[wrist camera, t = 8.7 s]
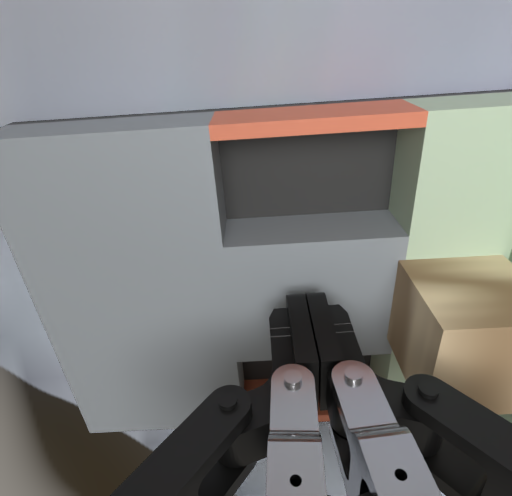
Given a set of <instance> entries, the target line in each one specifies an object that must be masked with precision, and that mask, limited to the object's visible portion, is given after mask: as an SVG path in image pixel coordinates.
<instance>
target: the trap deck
mask: <svg viewBox="0 0 512 496" xmlns="http://www.w3.org/2000/svg"><path fill="white" fill-rule="evenodd" d="M0 228H1V230H2V232H3V234H4V237H5V239H6V241H7V244H8V246H9V248H10V250H11V253H12V255H13V257H14V260H15V262H16V264H17V267H18V269H19V271H20V273H21V276H22V278H23V280H24V283H25V285H26V287H27V290H28V292H29V294H30V296H31V299H32V301H33V303H34V306H35V308H36V310H37V313H38V315H39V317H40V319H41V322H42V324H43V326H44V329H45V331H46V333H47V335H48V338H49V340H50V342H51V345H52V347H53V349H54V352H55V354H56V356H57V358H58V361H59V363H60V365H61V368H62V370H63V372H64V375H65V377H66V379H67V381H68V384H69V386H70V388H71V391H72V393H73V395H74V397H75V400H76V402H77V404H78V407H79V409H80V411H81V414H82V416H83V418H84V420H85V423H86V425H87V427H88V430H89V432H90V433H99V432H121V431H141V430H161V429H176V428H177V427H178V426H179V425H180V424H181V423H182V422H183V421H184V420H185V419H186V418H187V417H188V416H189V415H190V414H191V413H192V412H193V411H194V410H195V409H196V408H197V407H198V406H199V405H200V404H201V403H202V402H203V401H204V400H205V399H206V398H207V397H208V396H209V395H210V394H211V393H212V392H213V391H214V390H216V389H217V388H219V387H222V386H225V385H237V386H240V387H242V388H244V389H245V390H246V391H250V390H252V389H255V388H257V387H260V386H261V385H263V384H264V383H265V382H266V381H267V380H268V379H269V378H270V376H271V374H272V354H271V340H270V325H269V317H270V315H271V313H272V311H273V309H277V308H286V295H290V294H306V293H319V292H324V293H325V295H326V298H327V302H328V305H336V304H339V305H340V306H342V307H343V308H344V309H345V310H346V311H347V312H348V315H349V318H350V321H351V324H352V326H353V329H354V333H355V335H356V338H357V341H358V344H359V346H360V349H361V352H362V355H363V358H364V361H365V363H366V365H367V366H369V367H370V368H371V369H372V370H373V372H374V373H375V374H376V375H378V376H380V377H382V378H385V379H388V380H393V381H398V382H403V383H405V381H406V380H405V378H404V376H403V373H402V371H401V369H400V366H399V364H398V362H397V360H396V357H395V355H394V353H393V351H392V348H391V346H390V344H389V342H388V339H387V334H388V327H389V321H390V314H391V307H392V301H393V294H394V287H395V281H396V274H397V267H398V261H399V260H413V259H432V258H451V257H470V256H489V255H504V256H505V257H506V258H507V259H508V260H509V261H510V262H511V263H512V89H509V90H494V91H479V92H464V93H449V94H434V95H419V96H404V97H389V98H374V99H359V100H344V101H329V102H314V103H299V104H284V105H269V106H254V107H238V108H223V109H208V110H193V111H178V112H163V113H148V114H133V115H118V116H103V117H88V118H73V119H58V120H43V121H28V122H13V123H10V124H8V125H5V126H3V127H0ZM317 412H318V422H324V421H330V419H329V414H328V410H323V411H320V407H319V401H318V411H317ZM499 416H501V417H503V418H504V419H506V420H507V421H509V422H511V423H512V414H501V415H499Z"/></svg>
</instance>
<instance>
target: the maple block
mask: <svg viewBox="0 0 512 496" xmlns="http://www.w3.org/2000/svg"><path fill="white" fill-rule="evenodd" d="M387 339H388V342H389V344H390V346H391V348H392V351H393V353H394V355H395V357H396V360H397V362H398V364H399V366H400V369H401V371H402V373H403V376H404V378H405V380H406V379H407V378H409V377H410V376H412V375H415V374H427V375H431V376H434V377H437V378H438V379H440V380H442V381H444V382H445V383H447V384H448V385H450V386H452V387H453V388H455V389H457V390H458V391H460V392H462V393H463V394H465V395H467V396H468V397H470V398H471V399H473V400H475V401H476V402H478V403H480V404H481V405H483V406H485V407H486V408H488V409H489V410H491V411H493V412H494V413H496V414H498V415H501V414H512V263H511V262H510V261H509V260H508V259H507V258H506V257H505V256H504V255H489V256H470V257H451V258H432V259H413V260H399V261H398V267H397V274H396V281H395V287H394V294H393V301H392V307H391V314H390V321H389V327H388V334H387Z"/></svg>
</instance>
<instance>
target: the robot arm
mask: <svg viewBox="0 0 512 496" xmlns="http://www.w3.org/2000/svg"><path fill="white" fill-rule="evenodd" d="M269 325H270V340H271V354H272V374H271V376H270V378H269V379H268V380H267V381H266V382H265V383H264V384H263V385H261V386H260V387H257V388H255V389H252V390H250V391H246V390H245V389H244V388H242V387H240V386H237V385H225V386H222V387H219V388H217V389H216V390H214V391H213V392H212V393H211V394H210V395H209V396H208V397H207V398H206V399H205V400H204V401H203V402H202V403H201V404H200V405H199V406H198V407H197V408H196V409H195V410H194V411H193V412H192V413H191V414H190V415H189V416H188V417H187V418H186V419H185V420H184V421H183V422H182V423H181V424H180V425H179V426H178V427H177V428H176V429H175V430H174V431H173V432H172V433H171V434H170V435H169V436H168V437H167V438H166V439H165V440H164V441H163V442H162V443H161V444H160V445H159V446H158V447H157V448H156V449H155V450H154V451H153V453H152V454H151V455H150V456H149V457H148V458H147V459H146V460H145V461H144V462H143V463H142V464H141V465H140V466H139V467H138V468H137V469H136V470H135V471H134V472H133V473H132V474H131V475H130V476H129V477H128V478H127V479H126V480H125V481H124V482H123V483H122V484H121V485H120V486H119V487H118V488H117V489H116V490H115V491H114V492H113V493H112V494H111V495H110V496H233V495H234V494H235V492H236V491H237V489H238V488H239V487H240V485H241V484H242V483H243V481H244V480H245V479H246V477H247V476H248V475H249V473H250V472H251V471H252V469H253V468H254V466H255V464H256V461H258V460H261V459H263V458H265V457H267V476H266V496H329V495H327V492H326V481H325V471H324V460H323V450H322V440H321V435H320V433H319V423H318V412H317V411H318V401H319V407H320V411H323V410H328V414H329V419H330V426H329V431H330V435H331V439H332V442H333V446H334V449H335V453H336V456H337V460H338V463H339V467H340V470H341V474H342V477H343V481H344V485H345V489H346V495H347V496H442V495H441V493H440V491H441V492H442V493H444V494H445V495H446V496H512V423H511V422H509V421H507V420H506V419H504V418H503V417H501V416H499V415H498V414H496V413H494V412H493V411H491V410H489V409H488V408H486V407H485V406H483V405H481V404H480V403H478V402H476V401H475V400H473V399H471V398H470V397H468V396H467V395H465V394H463V393H462V392H460V391H458V390H457V389H455V388H453V387H452V386H450V385H448V384H447V383H445V382H444V381H442V380H440V379H438V378H437V377H434V376H431V375H427V374H415V375H412V376H410V377H409V378H407V379H406V381H405V383H403V382H398V381H393V380H388V379H385V378H382V377H380V376H378V375H376V374H375V373H374V372H373V370H372V369H371V368H370V367H369V366H367V365H366V363H365V361H364V358H363V355H362V352H361V349H360V346H359V344H358V341H357V338H356V335H355V333H354V329H353V326H352V324H351V321H350V318H349V315H348V312H347V311H346V310H345V309H344V308H343V307H342V306H340V305H339V304H336V305H328V302H327V298H326V295H325V293H324V292H319V293H306V294H290V295H286V308H277V309H273V311H272V313H271V315H270V317H269ZM439 490H440V491H439Z"/></svg>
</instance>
